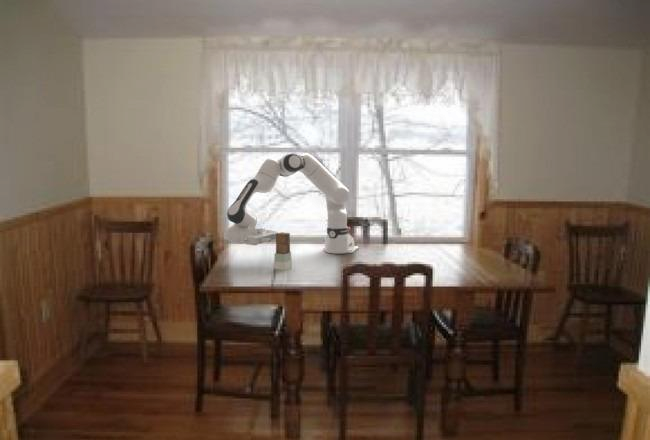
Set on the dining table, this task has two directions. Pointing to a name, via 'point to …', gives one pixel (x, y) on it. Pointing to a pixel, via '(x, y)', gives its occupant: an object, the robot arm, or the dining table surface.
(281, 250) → the walnut pillar
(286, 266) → the tower base
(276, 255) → the tower mid
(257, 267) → the dining table surface
